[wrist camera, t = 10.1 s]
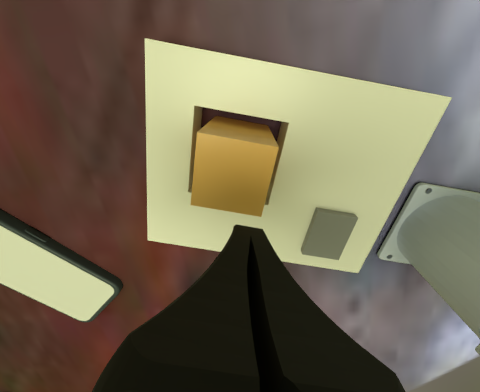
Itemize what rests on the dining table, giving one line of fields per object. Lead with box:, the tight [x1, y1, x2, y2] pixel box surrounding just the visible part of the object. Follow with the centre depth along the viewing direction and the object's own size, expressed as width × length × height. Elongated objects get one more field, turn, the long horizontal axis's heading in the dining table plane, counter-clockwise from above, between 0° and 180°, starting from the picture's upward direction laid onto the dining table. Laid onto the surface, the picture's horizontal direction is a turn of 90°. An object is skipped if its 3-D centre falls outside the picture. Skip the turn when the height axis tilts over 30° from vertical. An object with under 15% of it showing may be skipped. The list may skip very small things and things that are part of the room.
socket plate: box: [145, 39, 452, 273], centre depth 17 cm, size 18×14×4 cm
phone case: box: [0, 209, 123, 322], centre depth 24 cm, size 9×2×16 cm
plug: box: [191, 116, 279, 217], centre depth 15 cm, size 4×4×7 cm
